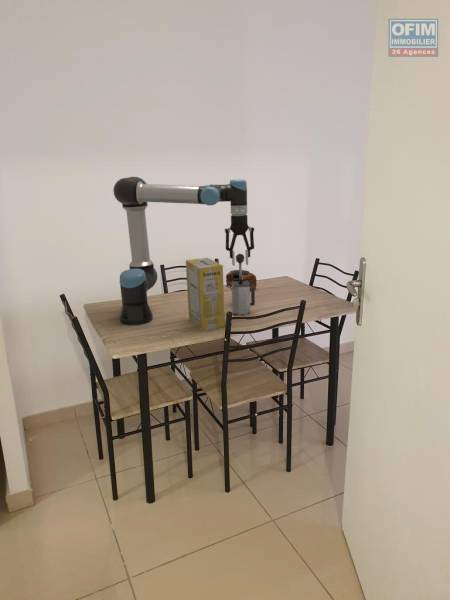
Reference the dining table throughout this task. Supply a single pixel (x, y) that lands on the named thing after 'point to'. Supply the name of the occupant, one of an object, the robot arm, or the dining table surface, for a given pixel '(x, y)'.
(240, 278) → the ball knob on rod
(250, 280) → the bread
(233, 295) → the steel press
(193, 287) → the pasta box
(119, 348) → the dining table surface
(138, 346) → the dining table surface
